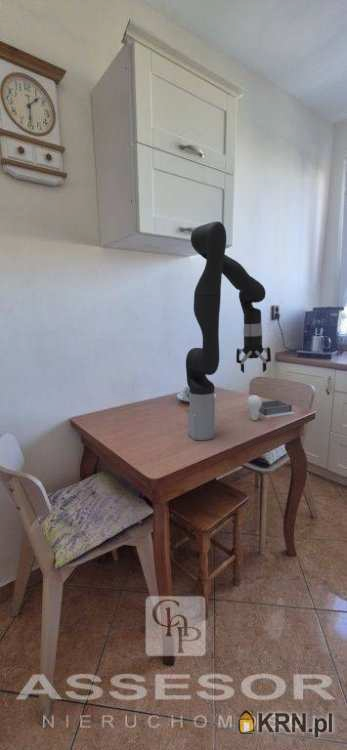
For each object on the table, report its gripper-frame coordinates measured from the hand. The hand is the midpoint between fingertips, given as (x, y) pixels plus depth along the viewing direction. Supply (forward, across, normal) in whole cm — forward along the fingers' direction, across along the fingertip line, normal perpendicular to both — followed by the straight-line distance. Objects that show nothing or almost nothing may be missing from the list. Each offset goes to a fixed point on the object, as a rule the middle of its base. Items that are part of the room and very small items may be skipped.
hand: (253, 371), depth 136 cm
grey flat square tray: (+21, +8, +7) cm, 23 cm away
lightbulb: (+20, -1, -6) cm, 21 cm away
